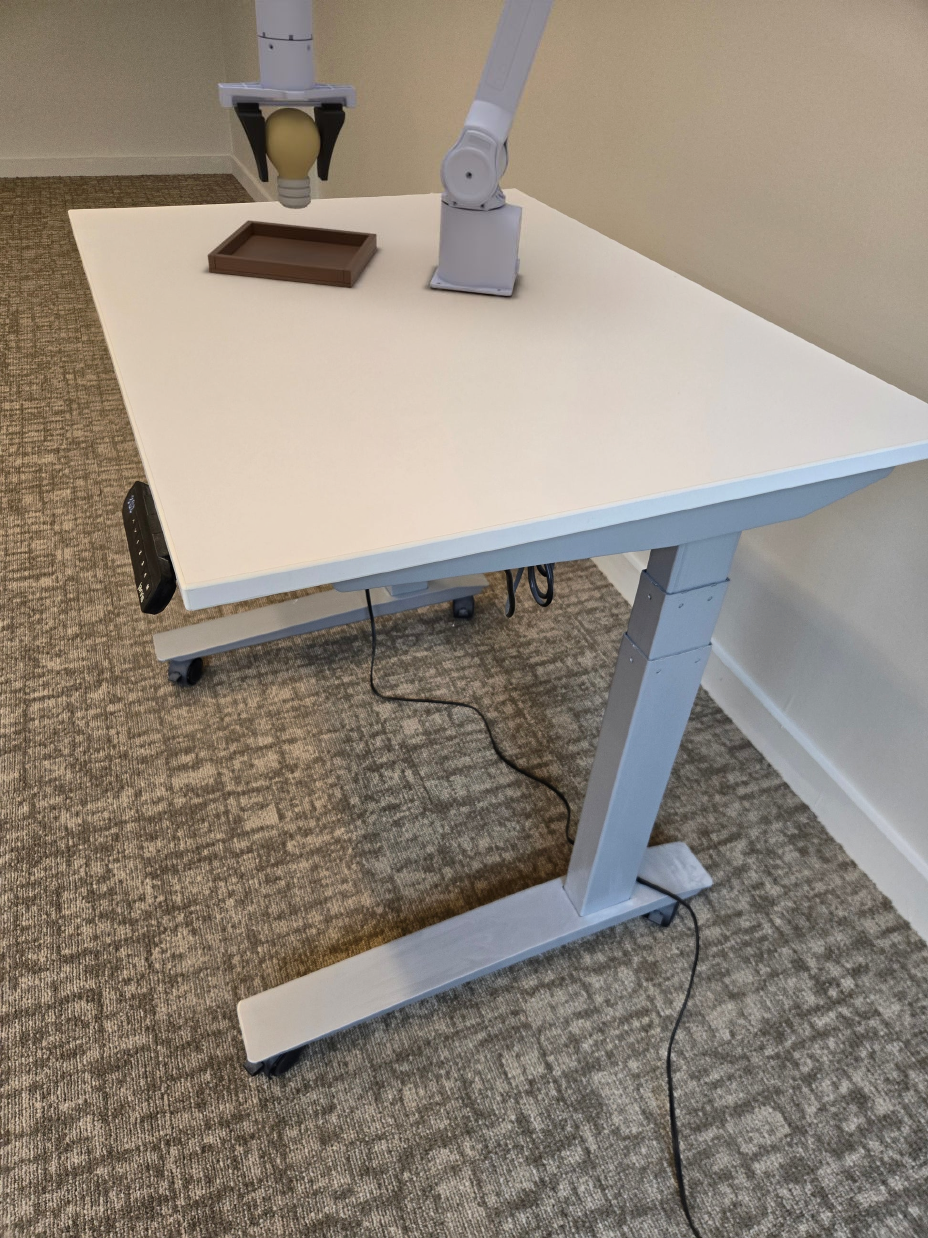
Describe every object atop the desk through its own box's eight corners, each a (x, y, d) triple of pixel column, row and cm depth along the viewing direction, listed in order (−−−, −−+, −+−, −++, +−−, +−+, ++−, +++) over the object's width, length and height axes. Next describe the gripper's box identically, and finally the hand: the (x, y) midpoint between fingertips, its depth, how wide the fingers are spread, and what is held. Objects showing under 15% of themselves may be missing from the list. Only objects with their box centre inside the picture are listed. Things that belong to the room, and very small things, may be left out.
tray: (376, 249, 110) (376, 233, 109) (350, 287, 99) (350, 270, 98) (249, 235, 111) (247, 219, 110) (209, 271, 100) (207, 254, 99)
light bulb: (276, 196, 104) (270, 100, 97) (329, 202, 103) (326, 106, 97) (259, 210, 99) (251, 109, 92) (314, 216, 98) (309, 116, 92)
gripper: (220, 40, 85) (234, 189, 94) (363, 44, 90) (364, 186, 98) (209, 30, 90) (224, 173, 99) (345, 34, 95) (348, 171, 103)
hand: (293, 179), depth 99 cm, fingers closed on light bulb, 6 cm apart
